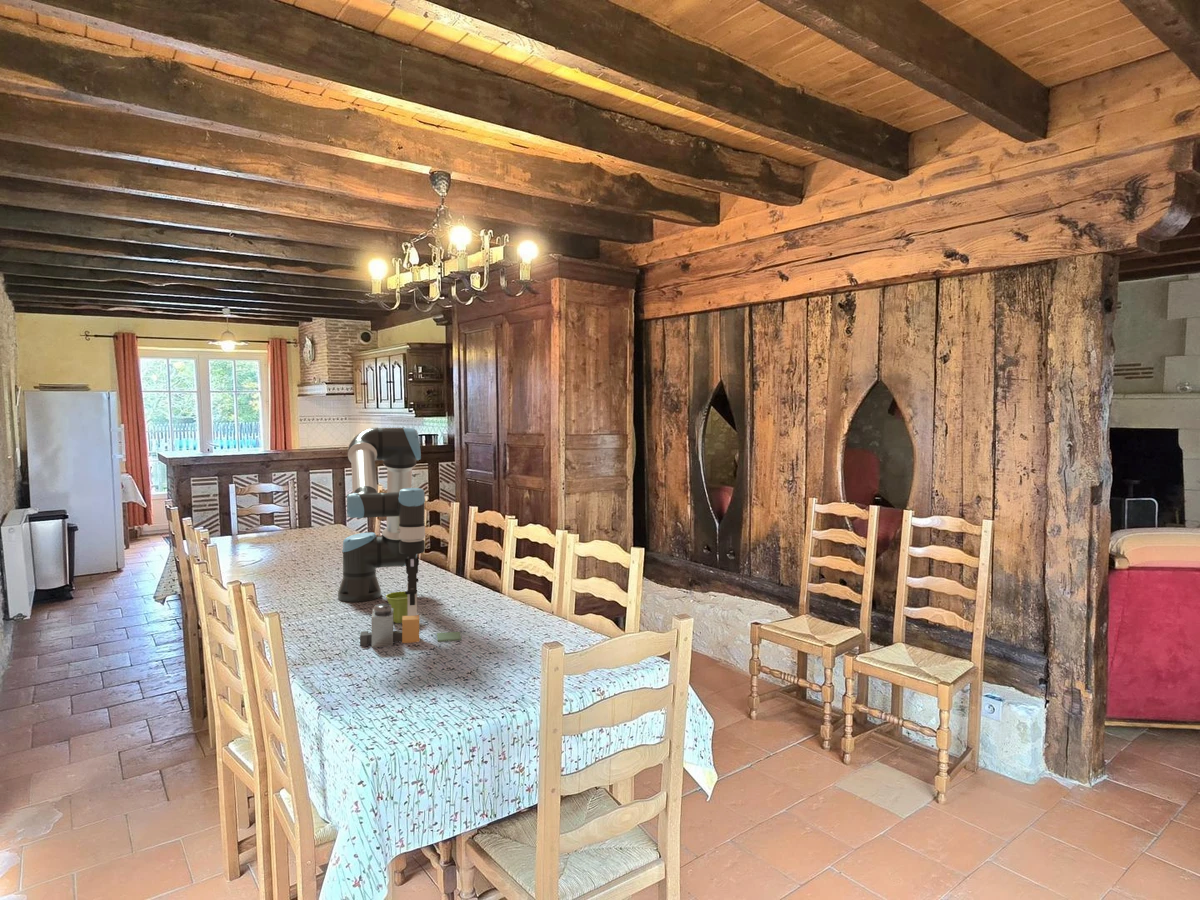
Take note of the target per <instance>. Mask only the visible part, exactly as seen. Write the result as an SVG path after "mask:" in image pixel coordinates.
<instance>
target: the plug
mask: <svg viewBox="0 0 1200 900" xmlns="http://www.w3.org/2000/svg"><path fill="white" fill-rule="evenodd" d="M394 643H402V644H410V643H413V644H414V643H420V614H417V615H416V616H402V623H401V630H393V644H394ZM368 645H372V632H369V630H367V631H360V635H359V647H360V646H362V647H363V646H368Z"/></svg>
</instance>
